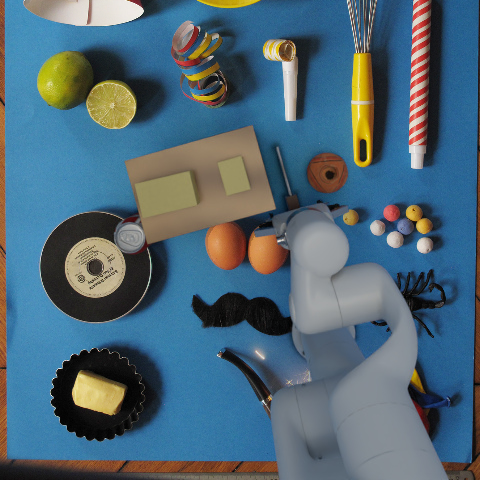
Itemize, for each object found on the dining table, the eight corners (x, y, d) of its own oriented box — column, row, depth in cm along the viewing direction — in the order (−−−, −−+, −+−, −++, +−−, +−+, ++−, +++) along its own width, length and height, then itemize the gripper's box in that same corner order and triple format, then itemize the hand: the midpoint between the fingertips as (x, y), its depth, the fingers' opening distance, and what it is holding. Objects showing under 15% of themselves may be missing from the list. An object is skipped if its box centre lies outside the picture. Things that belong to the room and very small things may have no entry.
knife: (306, 235, 85) (308, 238, 82) (296, 238, 85) (298, 241, 82) (281, 145, 85) (282, 145, 82) (271, 148, 85) (272, 148, 82)
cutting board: (269, 195, 85) (276, 209, 62) (175, 221, 86) (147, 244, 63) (252, 133, 85) (252, 124, 62) (158, 160, 86) (124, 160, 63)
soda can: (159, 246, 86) (144, 260, 74) (127, 239, 86) (107, 252, 74) (165, 213, 86) (151, 223, 74) (133, 207, 86) (114, 215, 74)
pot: (354, 178, 84) (356, 184, 78) (319, 195, 86) (318, 203, 80) (335, 143, 84) (335, 147, 78) (301, 161, 86) (298, 166, 80)
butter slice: (227, 194, 62) (250, 188, 62) (226, 196, 60) (250, 189, 60) (218, 162, 62) (241, 155, 62) (217, 162, 60) (241, 155, 60)
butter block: (200, 202, 62) (197, 205, 59) (148, 214, 63) (142, 218, 59) (192, 170, 62) (189, 170, 59) (141, 182, 63) (134, 183, 59)
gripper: (261, 269, 66) (259, 243, 83) (368, 240, 65) (343, 220, 82) (248, 223, 66) (248, 207, 83) (356, 194, 65) (333, 183, 82)
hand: (296, 213), depth 82 cm, fingers open, 9 cm apart
